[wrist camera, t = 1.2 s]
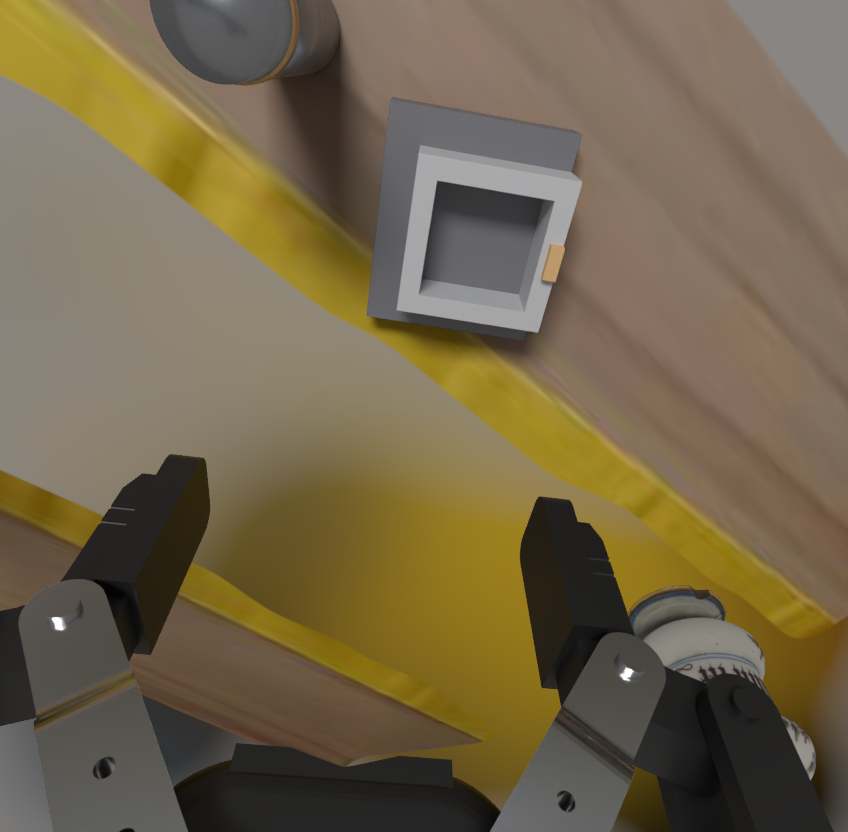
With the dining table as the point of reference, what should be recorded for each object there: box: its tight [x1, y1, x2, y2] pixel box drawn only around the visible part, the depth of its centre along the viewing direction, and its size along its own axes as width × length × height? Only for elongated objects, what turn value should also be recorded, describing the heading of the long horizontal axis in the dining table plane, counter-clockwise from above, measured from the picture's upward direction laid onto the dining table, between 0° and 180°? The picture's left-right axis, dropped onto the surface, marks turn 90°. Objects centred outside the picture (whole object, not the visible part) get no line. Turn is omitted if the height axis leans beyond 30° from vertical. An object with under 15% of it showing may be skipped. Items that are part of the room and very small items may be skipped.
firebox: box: [367, 97, 583, 341], centre depth 34 cm, size 11×13×6 cm
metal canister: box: [150, 0, 340, 85], centre depth 25 cm, size 5×5×14 cm
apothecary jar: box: [627, 586, 816, 780], centre depth 50 cm, size 12×12×18 cm
